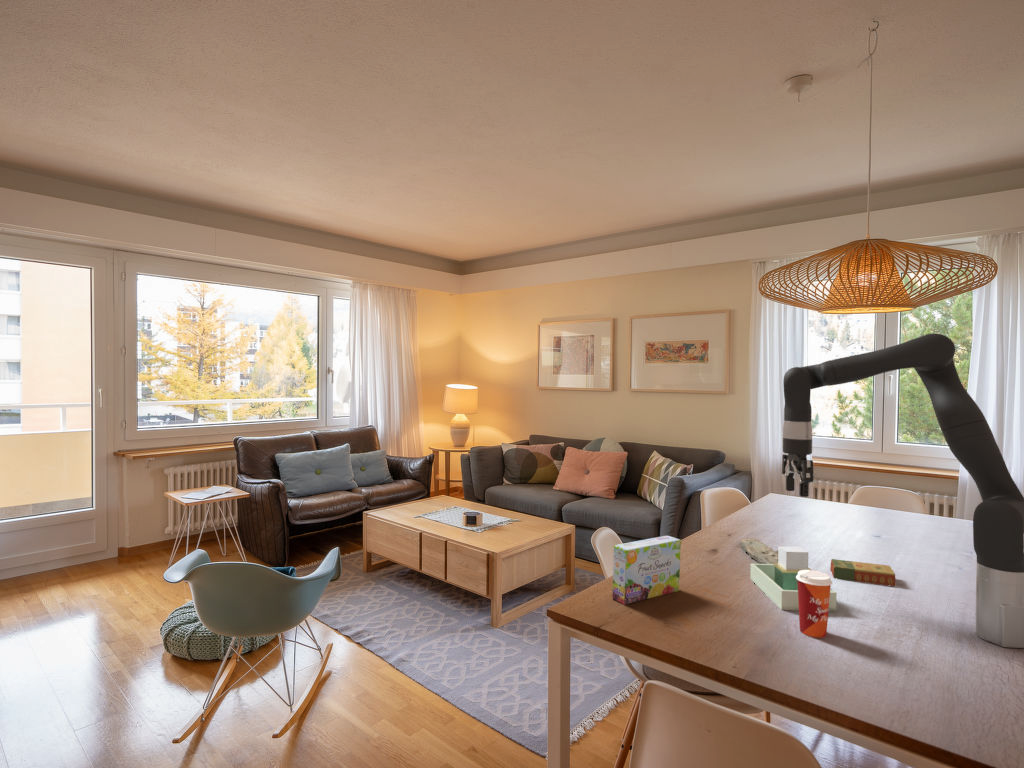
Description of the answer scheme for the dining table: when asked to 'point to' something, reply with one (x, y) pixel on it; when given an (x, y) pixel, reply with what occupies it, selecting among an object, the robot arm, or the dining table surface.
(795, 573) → the tea tin
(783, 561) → the white block
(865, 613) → the dining table surface
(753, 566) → the tote
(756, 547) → the long grey stone
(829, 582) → the paper cup
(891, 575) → the carton
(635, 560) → the snack box
